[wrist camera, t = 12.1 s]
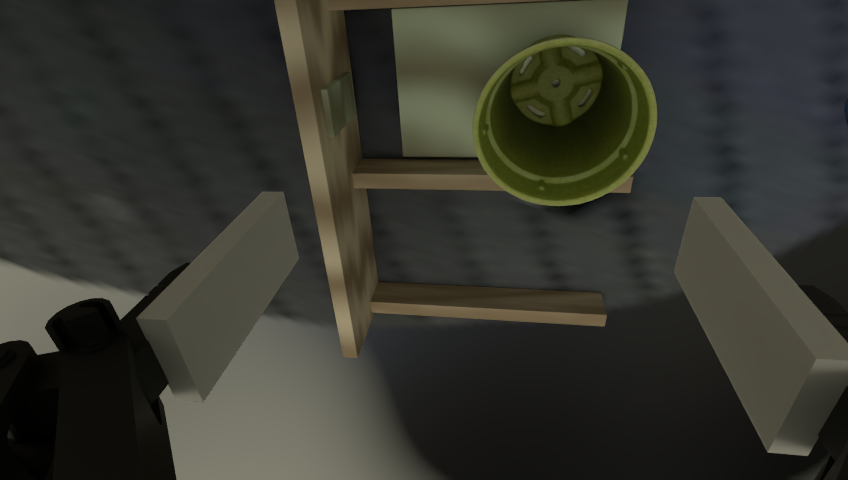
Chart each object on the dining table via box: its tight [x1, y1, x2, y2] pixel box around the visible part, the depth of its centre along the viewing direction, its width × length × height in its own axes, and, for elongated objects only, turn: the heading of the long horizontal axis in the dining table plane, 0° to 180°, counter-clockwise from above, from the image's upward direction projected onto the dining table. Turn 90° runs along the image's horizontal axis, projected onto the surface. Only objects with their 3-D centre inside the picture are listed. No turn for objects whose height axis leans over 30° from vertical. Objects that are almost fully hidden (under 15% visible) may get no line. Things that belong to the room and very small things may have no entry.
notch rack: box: [274, 0, 633, 358], centre depth 33 cm, size 27×21×8 cm
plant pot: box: [472, 34, 657, 206], centre depth 29 cm, size 9×9×9 cm
